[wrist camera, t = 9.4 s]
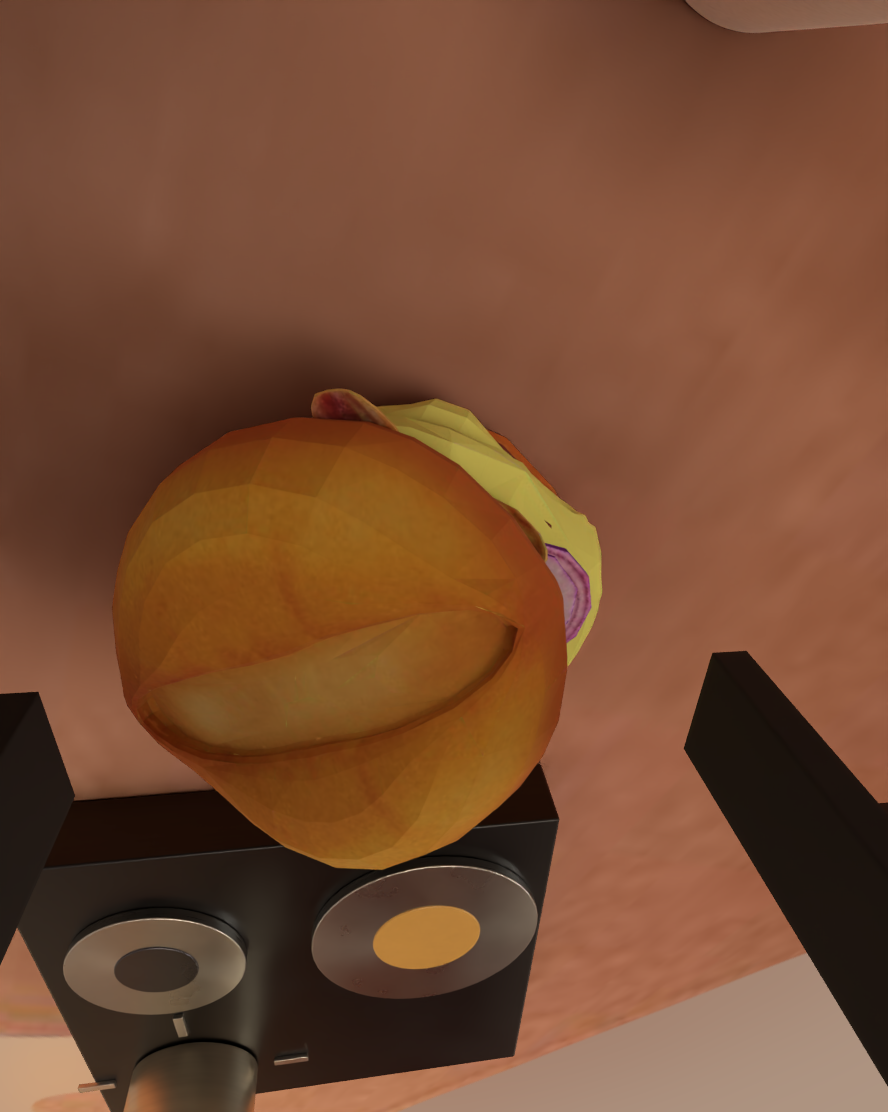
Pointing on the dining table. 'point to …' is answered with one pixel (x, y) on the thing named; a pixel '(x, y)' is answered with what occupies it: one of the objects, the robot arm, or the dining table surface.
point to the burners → (320, 940)
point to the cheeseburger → (356, 623)
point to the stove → (268, 942)
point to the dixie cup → (790, 14)
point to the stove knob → (194, 1080)
